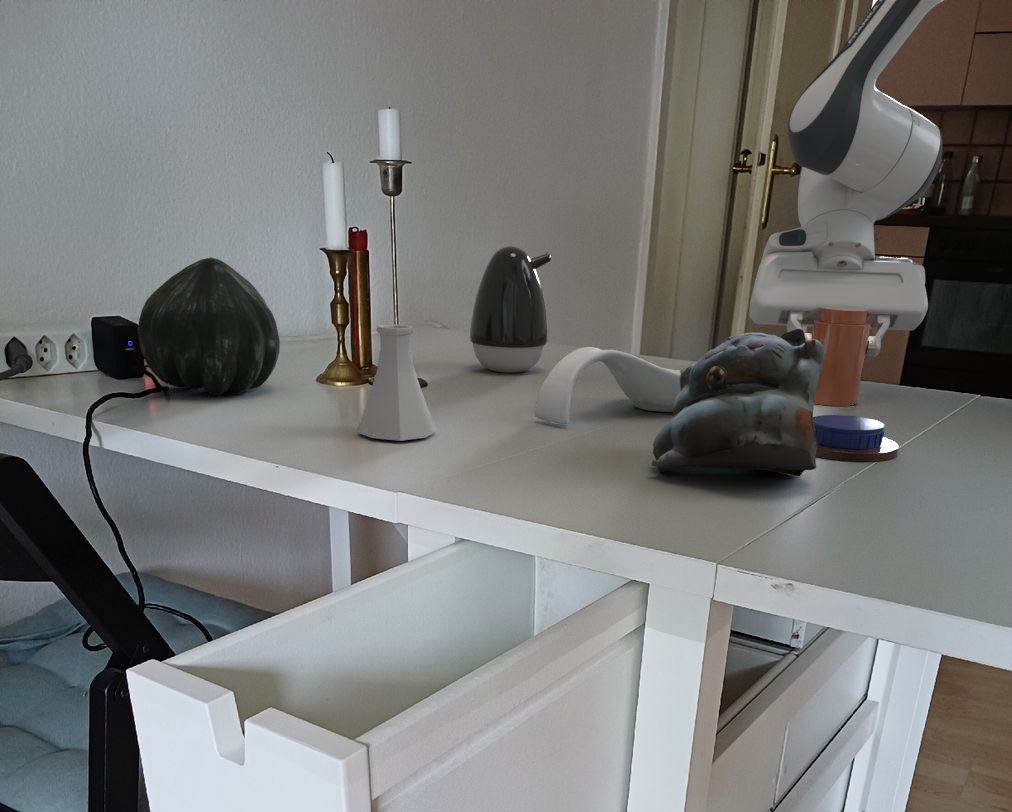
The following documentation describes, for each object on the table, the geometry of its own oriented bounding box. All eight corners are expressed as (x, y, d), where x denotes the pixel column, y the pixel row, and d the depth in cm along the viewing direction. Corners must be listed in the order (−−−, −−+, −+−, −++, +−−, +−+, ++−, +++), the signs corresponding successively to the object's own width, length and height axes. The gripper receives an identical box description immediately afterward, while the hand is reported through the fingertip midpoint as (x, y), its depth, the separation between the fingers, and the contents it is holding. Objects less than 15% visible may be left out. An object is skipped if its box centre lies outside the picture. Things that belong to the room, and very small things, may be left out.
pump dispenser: (557, 375, 132) (563, 249, 125) (479, 376, 129) (482, 247, 123) (534, 362, 141) (539, 244, 134) (461, 363, 138) (463, 243, 132)
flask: (449, 434, 99) (449, 326, 95) (402, 446, 93) (400, 333, 89) (392, 423, 103) (390, 319, 98) (343, 435, 97) (339, 325, 93)
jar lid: (792, 439, 97) (795, 420, 97) (829, 430, 102) (832, 411, 101) (859, 453, 93) (862, 433, 92) (894, 442, 98) (898, 423, 97)
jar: (844, 396, 124) (860, 305, 120) (865, 406, 118) (882, 311, 114) (794, 395, 124) (807, 304, 119) (812, 405, 118) (827, 310, 113)
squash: (181, 326, 123) (138, 229, 109) (302, 337, 122) (274, 240, 108) (152, 422, 118) (103, 332, 104) (278, 434, 117) (245, 345, 103)
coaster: (871, 438, 103) (873, 430, 102) (915, 462, 94) (916, 453, 93) (776, 436, 102) (777, 429, 102) (810, 461, 93) (811, 452, 93)
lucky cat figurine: (618, 469, 88) (638, 313, 88) (700, 503, 96) (718, 360, 97) (769, 450, 77) (790, 272, 78) (846, 490, 85) (865, 329, 86)
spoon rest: (659, 394, 122) (665, 331, 119) (738, 410, 114) (746, 344, 111) (512, 415, 108) (514, 345, 105) (591, 436, 100) (595, 360, 97)
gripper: (915, 278, 125) (920, 372, 120) (747, 271, 126) (745, 365, 122) (933, 240, 119) (939, 338, 114) (756, 234, 120) (755, 330, 116)
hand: (837, 352), depth 118 cm, fingers closed on jar, 6 cm apart
